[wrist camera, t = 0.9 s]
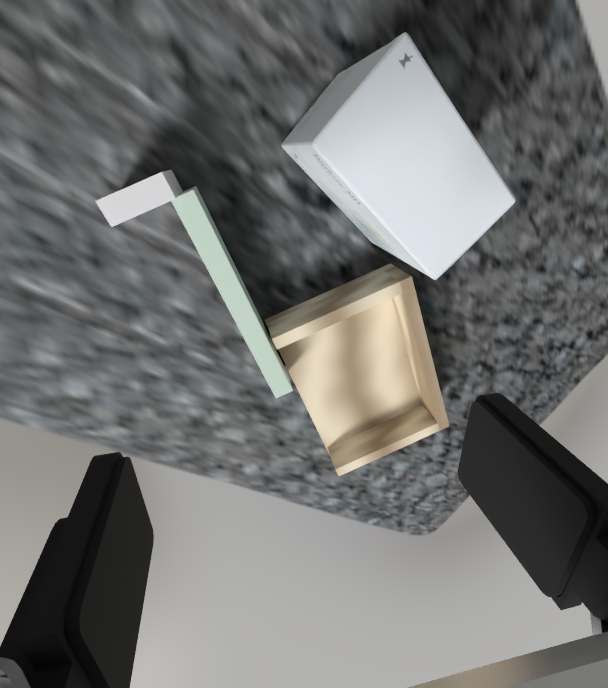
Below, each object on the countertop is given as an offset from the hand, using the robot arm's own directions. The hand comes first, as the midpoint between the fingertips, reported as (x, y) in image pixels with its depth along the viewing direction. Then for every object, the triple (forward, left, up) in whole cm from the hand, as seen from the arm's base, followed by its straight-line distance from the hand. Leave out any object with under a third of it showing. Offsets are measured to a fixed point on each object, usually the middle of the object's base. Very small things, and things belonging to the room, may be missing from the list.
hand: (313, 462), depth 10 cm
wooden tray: (-4, +13, -22) cm, 26 cm away
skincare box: (-10, -3, -22) cm, 25 cm away
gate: (+4, +1, -22) cm, 22 cm away
